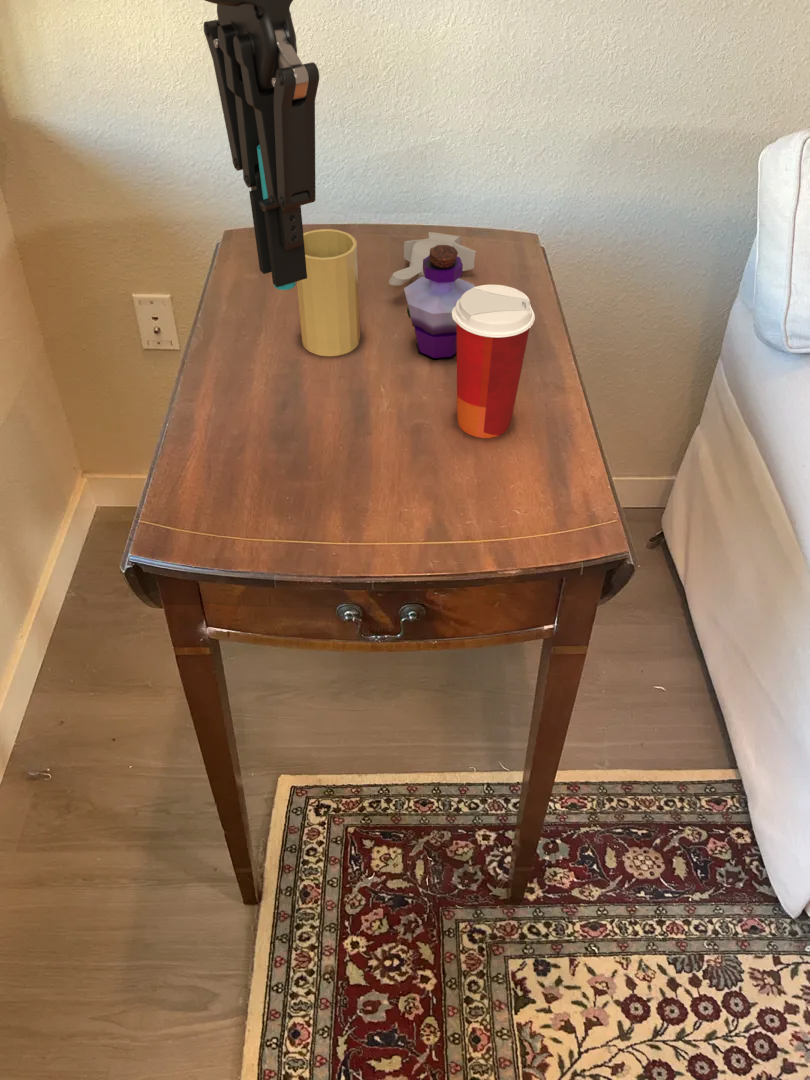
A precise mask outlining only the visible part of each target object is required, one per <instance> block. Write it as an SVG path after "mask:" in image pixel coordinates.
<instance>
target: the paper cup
mask: <svg viewBox="0 0 810 1080" xmlns="http://www.w3.org/2000/svg"><path fill="white" fill-rule="evenodd" d="M452 317H453V320H454V321H455V322H456V323H457V356H456V415H457V416H456V417H457V418H456V419H457V424H458V427H459V428H460V429H461V430H462V431H463V432H464V433H466V434H467V435H469V436H472V437H475V438H480V439H490V438H496V437H499V436H502V435H503V434H505V433H506V432H507V431H508V430H509V428H510V426H511V422H512V417H513V415H514V414H513V413H514V409H515V404H516V399H517V394H518V389H519V385H520V384H519V383H520V378H521V375H522V368H523V365H524V359H525V353H526V348H527V345H528V344H527V343H528V338H529V334H530V329H531V327H532V326H533V325H534V323H535V319H536V315H535V312H534V310H533V308H532V305H531V300H530V299H529V297H528V295H526V294H525V293H524V292H523V291H521V290H519V289H518V288H515V287H511V286H508V285H502V284H482V285H477V286H475V287H474V288H472V289H470V290H468V291H467V292H465V293H464V294H463V295H462V297H461V298H460V299H459V300H458V301H457V303H456V306H455V307H454V308H453V310H452Z"/></svg>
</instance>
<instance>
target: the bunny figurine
mask: <svg viewBox="0 0 810 1080" xmlns="http://www.w3.org/2000/svg"><path fill="white" fill-rule="evenodd" d="M437 245H449V246H452V247H454V248H455V249H456V250H457V252H458V254H457V257H460V259H461V261H462V264H463V270H462V272H466V271H469V270H474V269H475V265H476V264H475V263H476V254H477V251H476V250H474V249H472V248H470V247H467V246H465V245H463V238H462V236H461V235H455V234H450V233H449V234H448V233H442V232H434V231H428V234H427V237H426V238H421V239H420V238H419V239H410V240H406V241H403V259H404V260H406V261H408V262H409V266H408V267H404V268H402V269H399V270H397V271H395V272H392V274H391V275H390V279H389V280H388V284H389V285H391V286H395V287H396V286H403V285H405V284H406V283H408V282H410V283H413V282H414V281H416V280H417V279H419V278H420V277H425V276H424V273H423V259H425V258H426V257H428V256H429V255H430V249H431V248H433V247H435V246H437Z"/></svg>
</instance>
